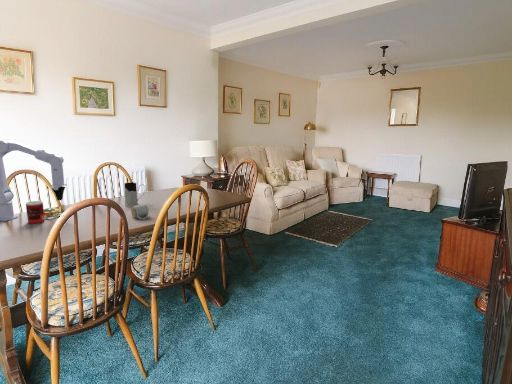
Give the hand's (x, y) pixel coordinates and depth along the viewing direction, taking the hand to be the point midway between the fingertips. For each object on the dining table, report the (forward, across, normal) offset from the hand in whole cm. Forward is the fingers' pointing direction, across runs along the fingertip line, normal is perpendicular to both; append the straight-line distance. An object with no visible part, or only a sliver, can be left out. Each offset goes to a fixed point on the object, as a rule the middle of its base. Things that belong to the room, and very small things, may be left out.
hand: (59, 199), depth 184 cm
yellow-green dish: (+9, +5, +5) cm, 11 cm away
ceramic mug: (+11, -10, -44) cm, 46 cm away
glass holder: (+11, +22, -40) cm, 47 cm away
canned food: (+11, -7, +11) cm, 17 cm away
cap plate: (+10, +4, +7) cm, 13 cm away
